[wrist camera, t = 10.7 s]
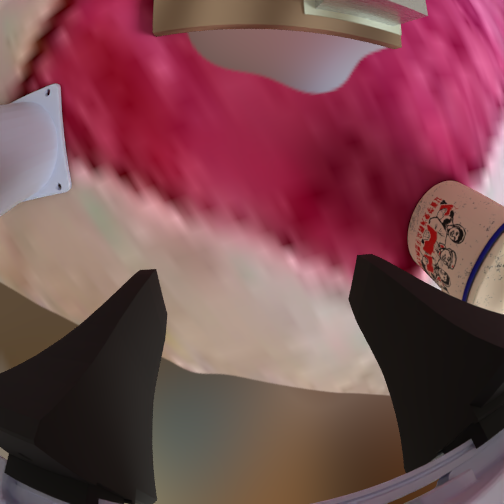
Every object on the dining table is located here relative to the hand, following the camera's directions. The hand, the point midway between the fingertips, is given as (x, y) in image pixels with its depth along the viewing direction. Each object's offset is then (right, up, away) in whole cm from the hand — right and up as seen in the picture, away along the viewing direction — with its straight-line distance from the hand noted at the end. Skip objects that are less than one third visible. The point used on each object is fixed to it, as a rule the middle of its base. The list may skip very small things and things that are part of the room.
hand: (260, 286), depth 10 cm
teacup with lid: (+17, +3, +12) cm, 21 cm away
